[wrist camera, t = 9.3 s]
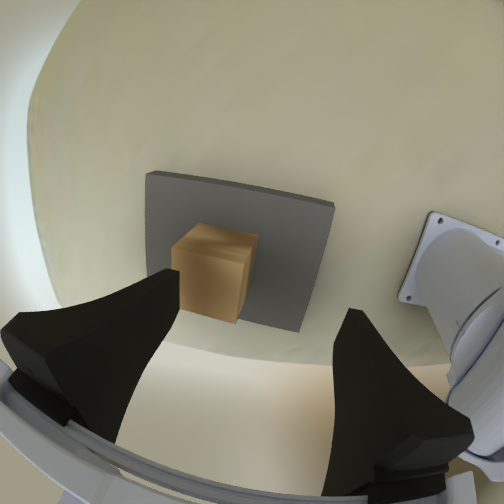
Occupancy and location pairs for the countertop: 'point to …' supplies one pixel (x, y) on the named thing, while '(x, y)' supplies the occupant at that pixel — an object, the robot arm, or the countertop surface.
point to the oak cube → (214, 270)
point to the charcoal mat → (251, 221)
